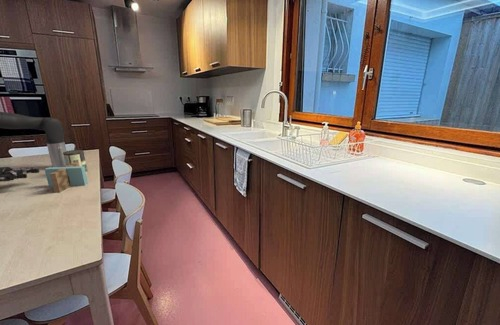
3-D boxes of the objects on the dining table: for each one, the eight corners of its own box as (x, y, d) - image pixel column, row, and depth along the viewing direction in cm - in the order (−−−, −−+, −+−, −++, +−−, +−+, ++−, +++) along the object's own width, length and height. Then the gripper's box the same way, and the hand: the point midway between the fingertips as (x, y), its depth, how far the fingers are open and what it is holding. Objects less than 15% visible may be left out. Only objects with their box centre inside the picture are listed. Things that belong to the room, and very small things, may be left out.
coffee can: (81, 170, 156) (77, 149, 152) (91, 172, 151) (87, 150, 147) (64, 174, 147) (58, 152, 143) (74, 177, 142) (69, 154, 139)
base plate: (77, 179, 139) (74, 162, 136) (82, 178, 139) (78, 162, 137) (54, 192, 120) (49, 173, 117) (59, 192, 120) (55, 173, 117)
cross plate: (52, 185, 130) (48, 167, 127) (87, 183, 132) (84, 166, 129) (48, 187, 127) (44, 169, 124) (84, 185, 129) (81, 167, 126)
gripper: (-17, 171, 116) (19, 170, 118) (8, 163, 130) (40, 162, 132) (-12, 186, 118) (23, 184, 120) (12, 176, 132) (44, 175, 134)
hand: (32, 173), depth 126 cm, fingers open, 8 cm apart
